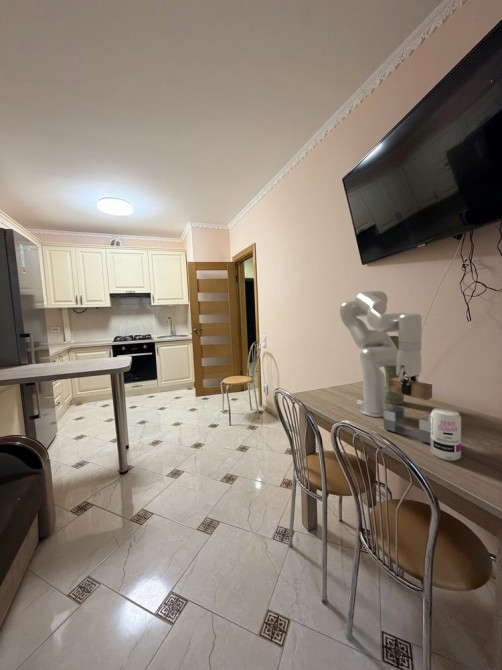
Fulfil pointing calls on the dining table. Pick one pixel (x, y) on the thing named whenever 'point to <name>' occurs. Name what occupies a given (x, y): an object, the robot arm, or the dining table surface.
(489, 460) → the dining table surface
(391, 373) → the thermos
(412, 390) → the brown wooden block
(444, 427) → the supplement can
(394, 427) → the bracket stand
